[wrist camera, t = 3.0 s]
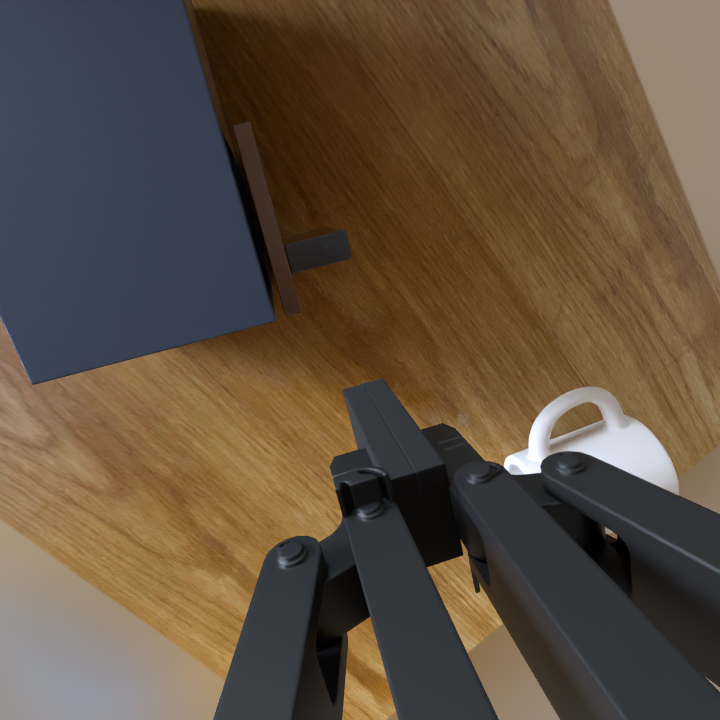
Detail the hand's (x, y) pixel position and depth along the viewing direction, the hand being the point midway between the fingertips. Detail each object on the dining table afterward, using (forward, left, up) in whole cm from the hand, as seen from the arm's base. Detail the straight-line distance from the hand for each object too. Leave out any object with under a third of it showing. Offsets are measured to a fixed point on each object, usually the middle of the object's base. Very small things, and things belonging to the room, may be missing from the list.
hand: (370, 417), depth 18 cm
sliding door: (0, -7, -18) cm, 20 cm away
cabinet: (+8, -12, -19) cm, 24 cm away
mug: (-17, +15, -19) cm, 30 cm away
